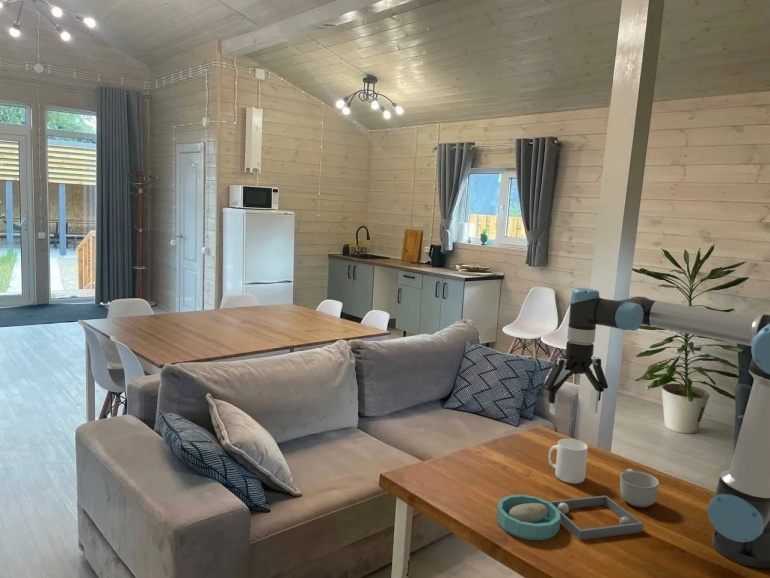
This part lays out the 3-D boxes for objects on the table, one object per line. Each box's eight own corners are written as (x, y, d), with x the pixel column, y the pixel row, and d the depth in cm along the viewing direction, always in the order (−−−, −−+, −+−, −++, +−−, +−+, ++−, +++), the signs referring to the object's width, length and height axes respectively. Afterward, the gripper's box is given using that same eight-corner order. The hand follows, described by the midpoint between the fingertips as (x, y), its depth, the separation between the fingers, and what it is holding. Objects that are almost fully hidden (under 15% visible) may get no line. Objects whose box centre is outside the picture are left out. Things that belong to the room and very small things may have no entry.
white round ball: (570, 515, 170) (571, 505, 170) (561, 516, 169) (562, 506, 169) (564, 510, 173) (565, 500, 173) (554, 511, 172) (555, 501, 172)
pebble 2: (633, 530, 164) (634, 519, 164) (623, 531, 163) (624, 520, 163) (625, 524, 167) (626, 513, 167) (616, 525, 166) (617, 514, 166)
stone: (555, 513, 164) (527, 511, 157) (543, 530, 166) (514, 529, 159) (542, 498, 169) (514, 495, 162) (530, 514, 170) (502, 513, 164)
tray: (642, 531, 163) (643, 523, 163) (579, 540, 158) (580, 531, 157) (605, 503, 179) (606, 495, 178) (546, 509, 173) (547, 501, 173)
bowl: (570, 537, 159) (572, 522, 158) (515, 544, 154) (516, 528, 153) (538, 506, 175) (539, 492, 174) (486, 511, 170) (487, 497, 169)
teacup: (659, 514, 174) (663, 488, 173) (621, 508, 176) (624, 483, 175) (648, 492, 187) (651, 468, 186) (613, 487, 190) (615, 464, 188)
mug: (586, 486, 189) (589, 452, 188) (547, 480, 192) (550, 446, 190) (583, 474, 198) (586, 440, 197) (546, 468, 201) (549, 436, 199)
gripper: (608, 338, 177) (601, 406, 180) (535, 339, 170) (529, 410, 173) (625, 344, 170) (617, 414, 173) (549, 345, 163) (542, 419, 166)
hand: (573, 412), depth 173 cm, fingers open, 13 cm apart
